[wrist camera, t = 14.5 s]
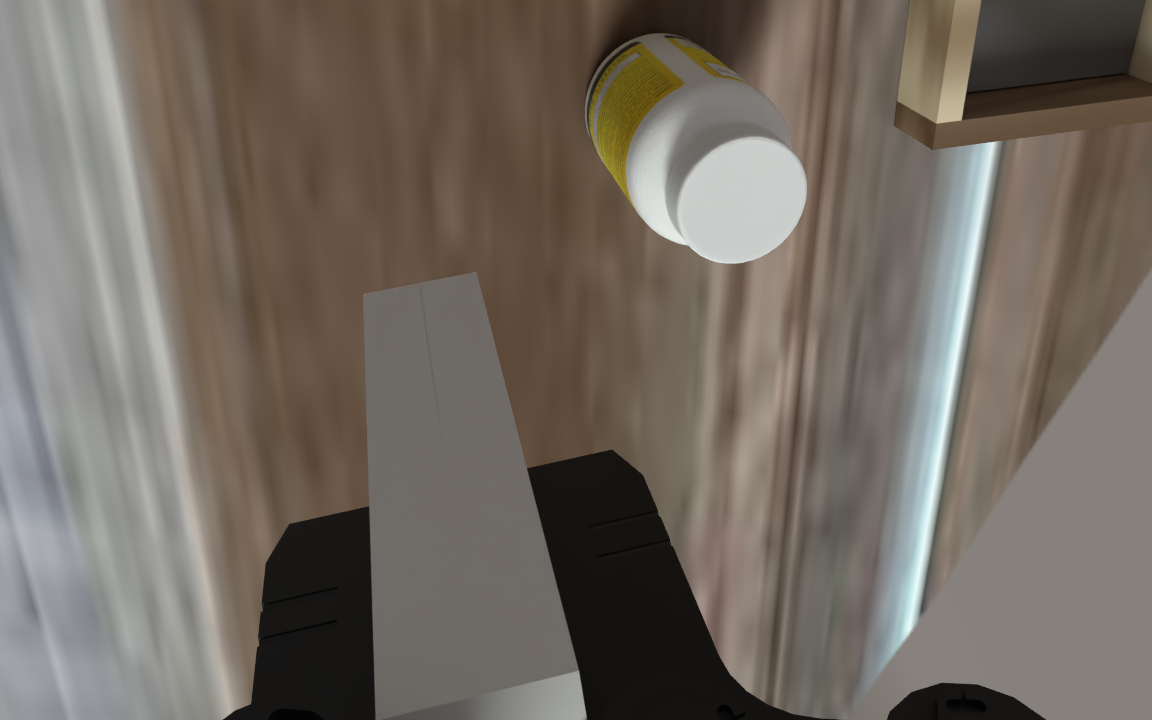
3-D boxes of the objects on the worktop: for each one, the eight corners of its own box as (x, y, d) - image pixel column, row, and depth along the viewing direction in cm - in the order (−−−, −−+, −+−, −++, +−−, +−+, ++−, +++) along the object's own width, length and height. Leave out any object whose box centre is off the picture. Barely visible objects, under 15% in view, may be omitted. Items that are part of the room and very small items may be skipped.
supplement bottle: (589, 184, 36) (656, 300, 28) (575, 42, 33) (645, 124, 25) (722, 161, 37) (826, 268, 28) (720, 20, 34) (835, 93, 25)
